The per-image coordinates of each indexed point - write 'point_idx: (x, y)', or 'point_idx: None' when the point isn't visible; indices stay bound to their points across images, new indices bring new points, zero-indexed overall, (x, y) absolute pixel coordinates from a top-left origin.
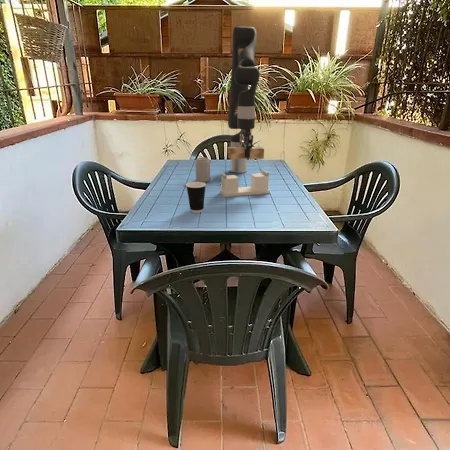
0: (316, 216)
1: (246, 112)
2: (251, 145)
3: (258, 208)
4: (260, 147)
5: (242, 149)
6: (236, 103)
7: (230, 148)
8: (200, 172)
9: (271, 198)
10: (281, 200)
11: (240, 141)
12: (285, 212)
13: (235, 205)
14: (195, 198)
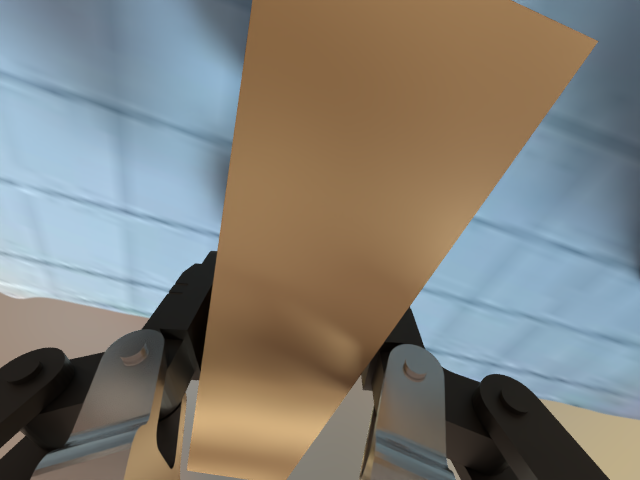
0: (14, 277)
1: None
2: (3, 459)
3: (61, 127)
4: (257, 467)
5: (213, 302)
6: None
7: (253, 27)
8: None
9: (206, 231)
10: (178, 253)
11: (428, 470)
12: (31, 211)
13: (93, 14)
14: None
